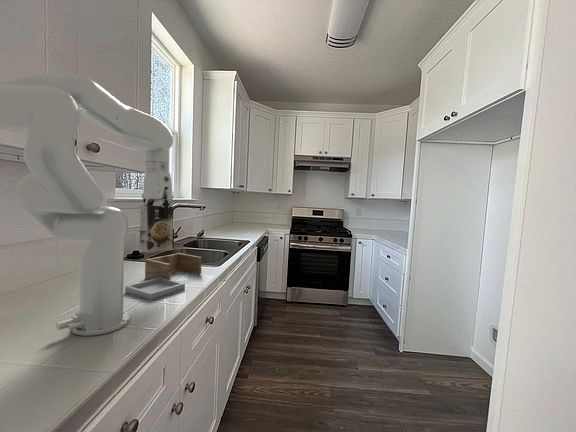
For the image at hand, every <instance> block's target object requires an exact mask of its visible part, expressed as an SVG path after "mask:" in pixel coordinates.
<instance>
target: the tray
mask: <svg viewBox="0 0 576 432" xmlns="http://www.w3.org/2000/svg"><path fill="white" fill-rule="evenodd" d="M124 287H125V290H124V291H125V292H124V294H127V295H131V296H133V297H137V298H140V299H142V300H146V301H148V302H152V301H155V300H159V299H161V298H164V297H167V296H171V295H173V294H176V293H178V292H179V293H180V292H182V291H185V290H186V283H185V282H180V281H177V280H173V279H171V278H170V279H166V278H162V277H159V278H155V279H151V280H149V279H146V280H143V281H140V282H137V283H133V284H129V285H125V286H124Z"/></svg>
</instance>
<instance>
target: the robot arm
mask: <svg viewBox="0 0 576 432" xmlns="http://www.w3.org/2000/svg"><path fill="white" fill-rule="evenodd" d="M81 117H82V118H84V119H86V121H89V122H91V123H92V124H95V125H96V126H98V127H100V128H101V129H102V130H104V131H107V132H108V133H111V134H115V135H119V136H123V139H124V142H125V144H126V145H128V146H129V147H130V148H131V149H134V150H137V151H138V150H139V151H144V152H145V161H144V162H145V167H144V168H145V169H144V173H145V174H144V179H143V193H142V194H141V199H142V201H143V203H144V204H143V206H155V205H154V204H155V202H156V201H158V202H159V206H161V208H159V219H168V208H169V207H170V206H171V204H172V202H173V200H174V195H173V186H172V184H173V183H172V176H171V172H170V169H169V168H170V149H171V148H172V147H173V144H174V137H173V134H172V132H171V131H172V130H170V129H169V127H168V126H167V125H166V124H165V123H164V122H162V121H161V120H160V119H159V118H157V117H155V116H152V115H151V114H148V113H145V112H143V111H141V110H138V109H136V108H133V107H130V106H129V105H125V104H123V103H122V102H121V101H120V100H119V99H117V98H115V96H113V95H111V93H110V92H108V91H107V90H105V89H104V88H103V87H102V86H100V85H99V84H98V83H96V82H95V81H94V80H92V79H91V78H89V77H87V76H85V75H81V74H76V73H46V72H45V73H37V74H31V75H28V76H23V77H17V78H13V79H9V80H4V81H0V130H2V131H9V132H28V133H27V137H26V140H25V144H24V149H23V159H24V160H23V161H24V162H25V165H26V167H27V169H28V170H29V171H30V173H29V174H27V175H25V176H24V177H23V178H21V180H20V181H19V182H18V185H17V191H16V192H17V194H16V195H17V198H18V201H19V203H20V204H21V206H22V207H23V209H24V211H26V212H28V214H29V215H30V216H31V217H32V218H33V219H34V220H35V221H36V222H37V223H38V224H40V225H41V226H42V228H44V229H45V230H46V231H47V232H48V233H49V234H50V235H52V237H55V238H56V239H58V240H61V241H63V242H64V241H65V242H74V243H75V242H77V243H78V242H81V243H88V245H87V246H86V247H85V249H84V251H83V252H82V253H81V256H80V258H79V259H80V260H79V310H77V311H76V312H74V316H72V317H70V319H69V318H68V319H64V320H61V321H57V322H56V324H55V328H56V331H60V330H61V331H62V330H65V329H67V330H69V331H71V330H72V332H73V333H74V334H75V335H78V336H85V337H87V336H88V337H90V336H99V335H103V334H109V333H112V332H115V331H117V330H120V329H122V328H124V327H125V326H126V325H128V324H129V322H130V320H131V319H130V317H131V315H130V314H129V313H128V312H126V311H124V255H125V254H124V252H125V244H126V243H125V242H126V237H127V232H128V228H129V220H128V216H127V215H126V213H125V212H124V211H122V210H121V209H119V208H116V207H113V206H108V205H102V204H103V203H104V202H103V201H104V200H103V198H104V197H103V194H102V192H101V189H100V187H99V186H98V184H97V183H96V180H94V178H93V177H92V175H91V174H90V173H89V171H88V169H87V168H86V167H85V165H84V164H83V162H82V160H80V158H79V156H78V153H77V152H76V147H75V141H76V140H75V139H76V134H77V130H78V125H79V122H80V118H81Z"/></svg>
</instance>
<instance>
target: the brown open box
mask: <svg viewBox="0 0 576 432" xmlns="http://www.w3.org/2000/svg"><path fill="white" fill-rule="evenodd" d="M144 261H145V263H144V265H145V266H144V278H145V280H151V279H155V278H159V277H162V278H166V279H170V280H171V274H172V273H175V272H183V273H187V272H188V273H187V274H192V273H193V274H192V275H196V274H197V275H196V276H201V275H202V261H203V259H202V256H197V255H192V254H188V253H181V252H179V253H178V252H177V253H173V254H168V255H163V256H157V257H152V258H145V260H144ZM200 274H201V275H200Z"/></svg>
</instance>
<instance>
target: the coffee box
mask: <svg viewBox="0 0 576 432" xmlns="http://www.w3.org/2000/svg"><path fill="white" fill-rule="evenodd" d="M159 208H161V206H160V205H153V206H145V205H140V216H139V217H140V219H139V221H140V223H139V225H140V226H139V228H140V229H139V251H141V252H144V253H147V254H149V253H150V254H151V253H157V252H164V251H165V252H166V251H172V250H173V224H174V219H173V218H174V206H171V205H170V207H169V208H168V219H159Z"/></svg>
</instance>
